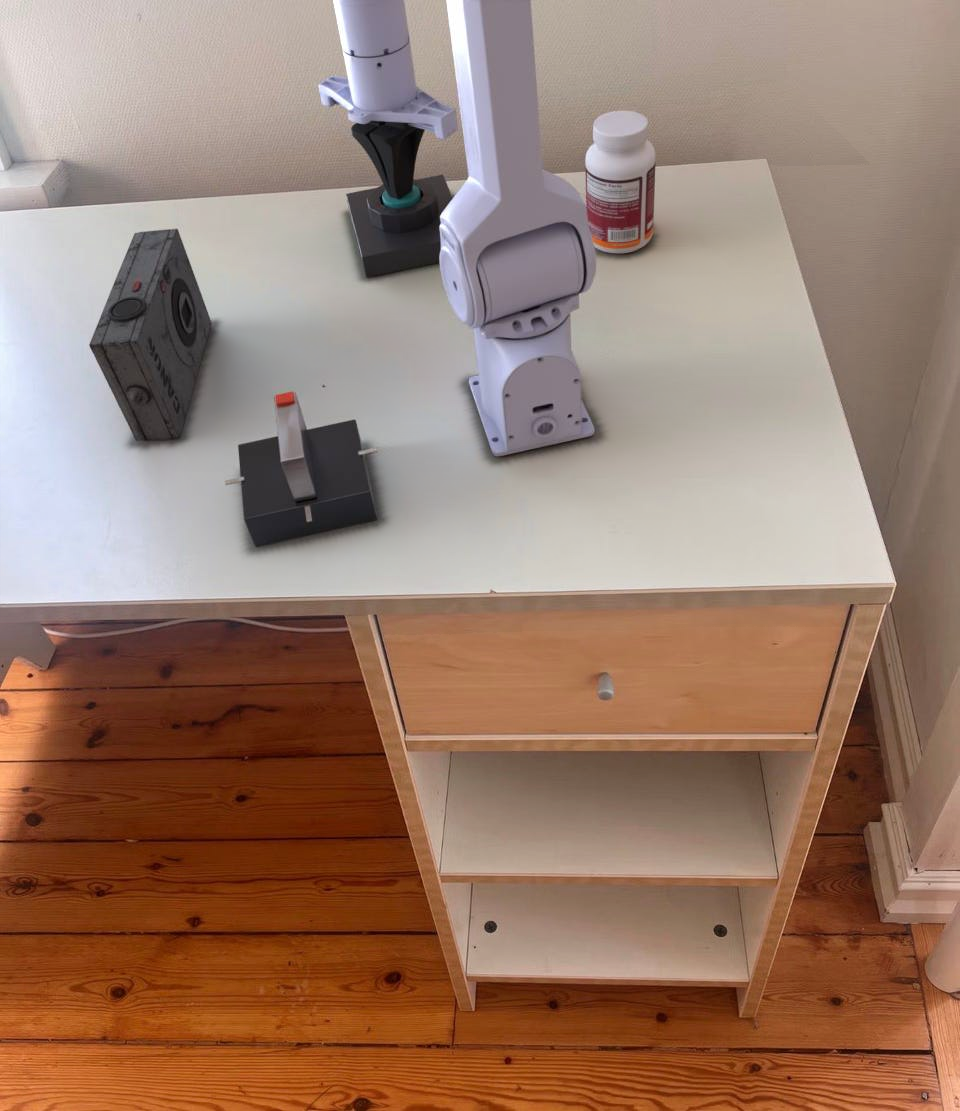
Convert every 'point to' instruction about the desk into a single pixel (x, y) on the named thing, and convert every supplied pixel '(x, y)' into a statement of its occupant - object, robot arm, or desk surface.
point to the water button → (405, 201)
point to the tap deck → (336, 484)
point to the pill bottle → (620, 182)
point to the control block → (399, 227)
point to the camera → (153, 335)
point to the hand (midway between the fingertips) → (400, 193)
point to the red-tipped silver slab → (294, 446)
